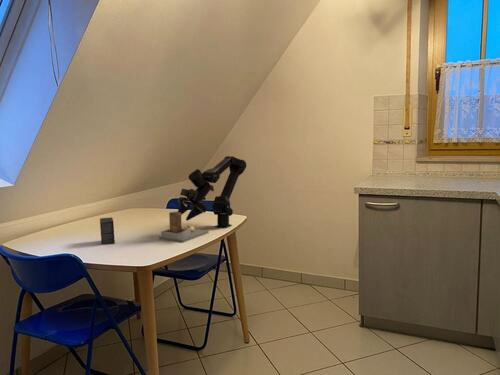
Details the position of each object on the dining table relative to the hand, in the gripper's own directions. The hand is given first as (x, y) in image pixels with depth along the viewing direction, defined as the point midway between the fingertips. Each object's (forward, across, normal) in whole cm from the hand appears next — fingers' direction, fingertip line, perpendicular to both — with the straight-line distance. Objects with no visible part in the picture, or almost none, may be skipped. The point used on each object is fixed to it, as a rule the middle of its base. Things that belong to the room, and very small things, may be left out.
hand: (181, 218), depth 195 cm
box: (+28, -14, -16) cm, 35 cm away
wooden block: (+8, 0, +3) cm, 8 cm away
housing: (+5, -1, +7) cm, 9 cm away
